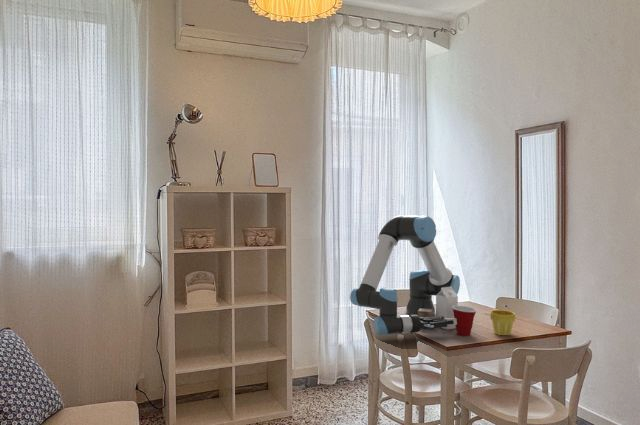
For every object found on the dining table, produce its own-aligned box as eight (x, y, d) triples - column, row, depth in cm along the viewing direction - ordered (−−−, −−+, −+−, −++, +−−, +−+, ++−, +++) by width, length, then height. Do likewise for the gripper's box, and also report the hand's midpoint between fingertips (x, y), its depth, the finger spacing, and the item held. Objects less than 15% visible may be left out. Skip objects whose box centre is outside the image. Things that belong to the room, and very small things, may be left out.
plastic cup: (479, 338, 202) (479, 310, 202) (453, 337, 204) (453, 309, 203) (474, 331, 213) (474, 305, 213) (449, 330, 214) (450, 304, 214)
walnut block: (417, 327, 220) (417, 310, 219) (419, 324, 225) (419, 308, 225) (430, 329, 217) (430, 311, 217) (432, 326, 223) (432, 309, 223)
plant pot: (519, 337, 204) (519, 314, 204) (496, 337, 204) (496, 315, 203) (508, 330, 214) (508, 309, 214) (486, 331, 214) (486, 309, 214)
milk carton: (435, 326, 222) (435, 286, 222) (446, 324, 225) (446, 285, 225) (446, 330, 216) (446, 288, 215) (457, 328, 219) (457, 287, 219)
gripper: (403, 328, 209) (451, 325, 214) (415, 336, 196) (466, 333, 201) (403, 311, 208) (451, 309, 214) (415, 318, 196) (466, 315, 201)
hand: (458, 321), depth 208 cm, fingers closed
